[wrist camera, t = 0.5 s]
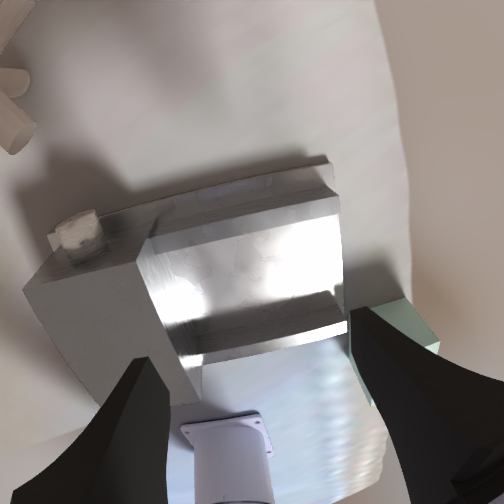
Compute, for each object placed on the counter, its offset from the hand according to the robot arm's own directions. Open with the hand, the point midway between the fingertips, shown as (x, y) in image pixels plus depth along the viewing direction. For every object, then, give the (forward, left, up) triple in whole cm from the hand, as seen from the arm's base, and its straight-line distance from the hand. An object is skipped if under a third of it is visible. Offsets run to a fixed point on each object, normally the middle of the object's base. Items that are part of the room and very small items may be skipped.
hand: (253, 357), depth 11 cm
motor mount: (-2, +3, -10) cm, 10 cm away
